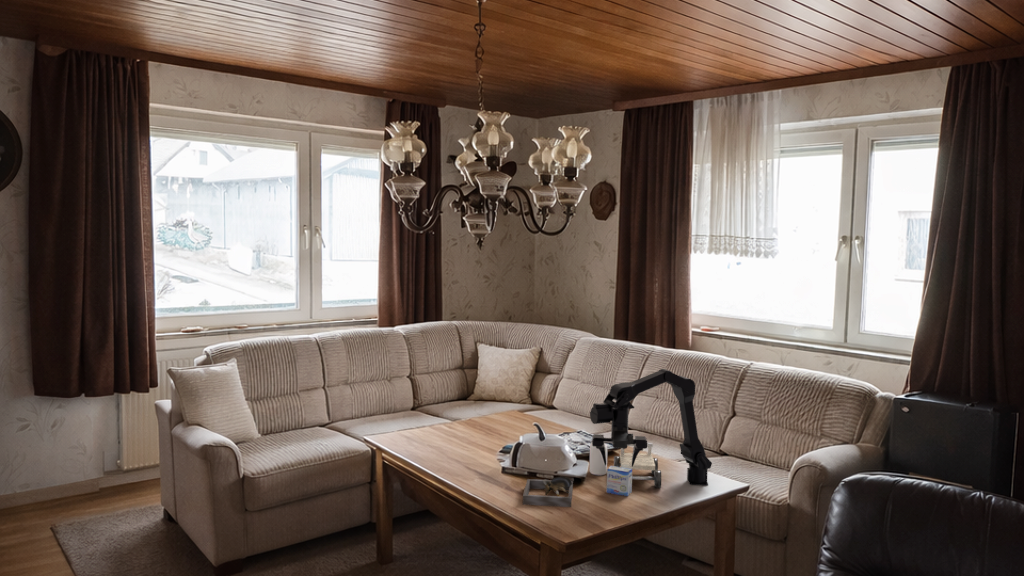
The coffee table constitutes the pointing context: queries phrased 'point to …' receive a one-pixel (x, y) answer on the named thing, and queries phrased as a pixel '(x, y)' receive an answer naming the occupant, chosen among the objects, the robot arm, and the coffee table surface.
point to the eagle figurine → (557, 484)
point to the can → (597, 461)
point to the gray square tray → (545, 499)
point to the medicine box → (619, 480)
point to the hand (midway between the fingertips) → (618, 465)
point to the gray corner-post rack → (640, 464)
